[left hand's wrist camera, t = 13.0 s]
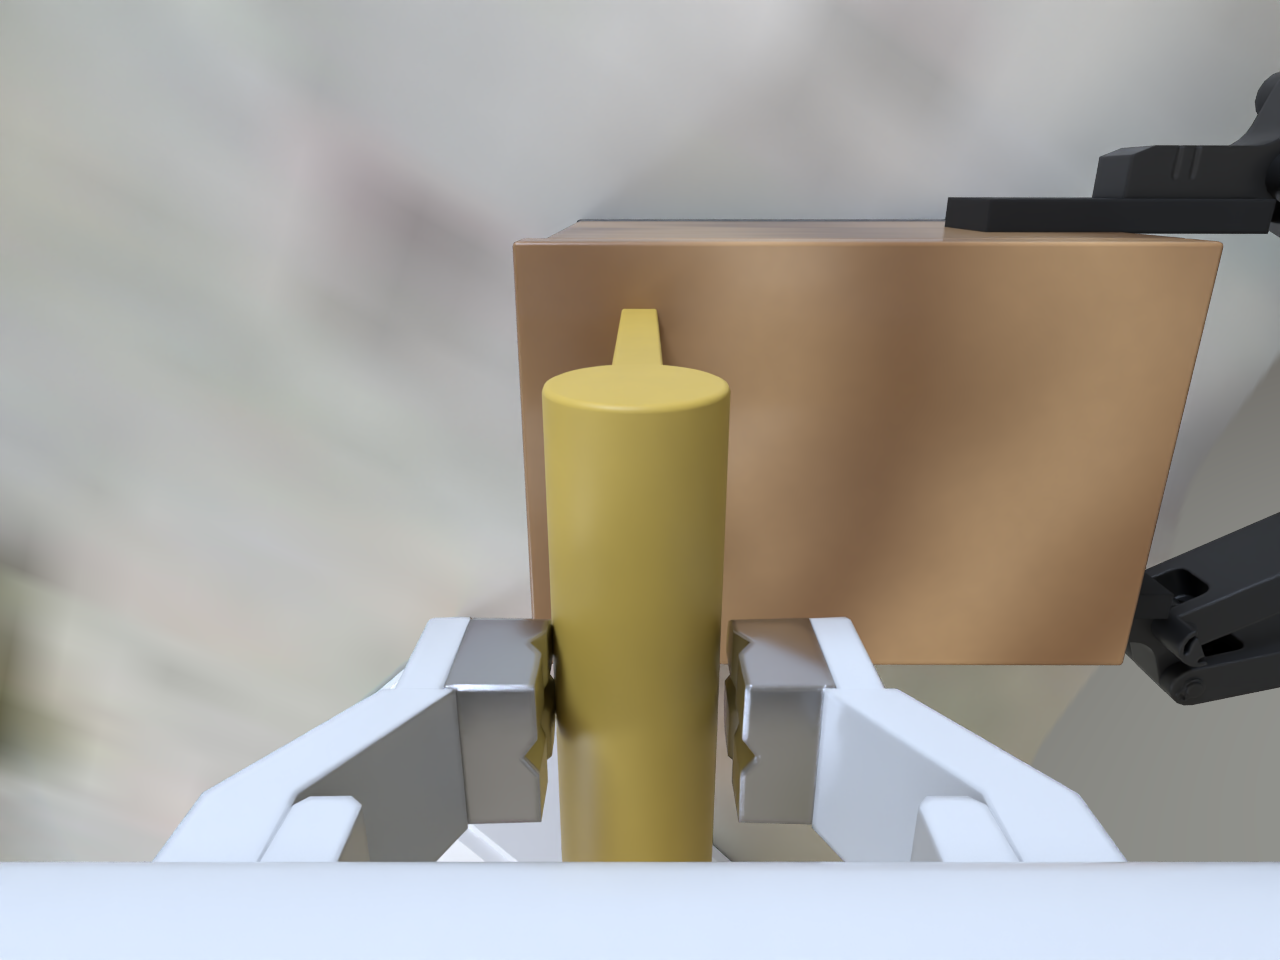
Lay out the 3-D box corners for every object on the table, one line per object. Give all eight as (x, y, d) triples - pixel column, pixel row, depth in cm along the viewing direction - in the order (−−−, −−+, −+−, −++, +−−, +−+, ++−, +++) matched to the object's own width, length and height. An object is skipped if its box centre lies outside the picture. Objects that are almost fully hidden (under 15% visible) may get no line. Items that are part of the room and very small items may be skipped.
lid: (540, 640, 19) (458, 995, 11) (520, 238, 16) (381, 294, 8) (1098, 642, 19) (1456, 999, 11) (1191, 238, 16) (1802, 295, 8)
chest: (586, 494, 29) (559, 640, 20) (579, 219, 26) (543, 237, 16) (951, 495, 29) (1097, 641, 19) (990, 219, 26) (1189, 237, 16)
